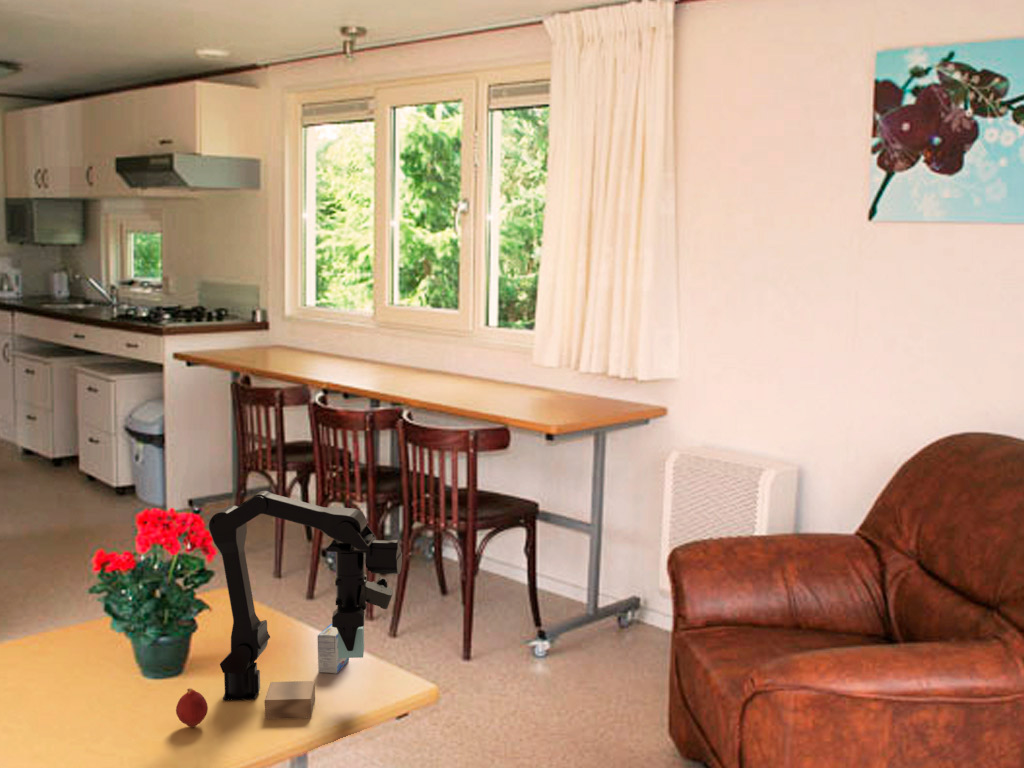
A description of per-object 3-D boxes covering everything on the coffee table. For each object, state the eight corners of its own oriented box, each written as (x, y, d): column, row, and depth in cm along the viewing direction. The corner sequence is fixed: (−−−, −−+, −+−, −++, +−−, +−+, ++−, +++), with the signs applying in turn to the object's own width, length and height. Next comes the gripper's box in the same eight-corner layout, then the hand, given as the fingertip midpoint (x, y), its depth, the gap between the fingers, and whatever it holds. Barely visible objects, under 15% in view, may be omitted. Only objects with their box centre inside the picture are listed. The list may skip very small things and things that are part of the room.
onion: (196, 718, 221) (195, 679, 220) (214, 726, 218) (213, 687, 216) (171, 727, 217) (169, 688, 216) (188, 736, 213) (187, 696, 212)
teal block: (338, 658, 227) (337, 629, 226) (339, 649, 231) (339, 621, 231) (363, 657, 227) (362, 629, 226) (364, 648, 232) (363, 620, 231)
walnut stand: (264, 719, 221) (264, 700, 220) (270, 700, 230) (270, 681, 229) (311, 718, 221) (310, 698, 221) (315, 699, 230) (314, 680, 230)
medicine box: (337, 674, 244) (336, 636, 242) (317, 672, 244) (317, 634, 243) (349, 661, 251) (348, 623, 250) (330, 659, 252) (330, 622, 251)
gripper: (389, 585, 218) (389, 662, 220) (391, 558, 237) (391, 629, 239) (331, 586, 217) (332, 663, 220) (338, 559, 236) (339, 630, 238)
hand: (351, 645), depth 229 cm, fingers closed on teal block, 5 cm apart
